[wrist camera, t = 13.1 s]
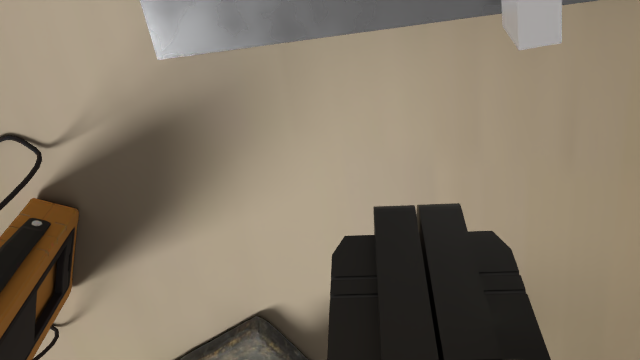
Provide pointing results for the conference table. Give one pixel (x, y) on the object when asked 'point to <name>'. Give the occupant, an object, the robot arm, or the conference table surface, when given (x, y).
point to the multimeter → (34, 270)
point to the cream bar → (532, 22)
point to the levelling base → (289, 20)
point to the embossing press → (248, 344)
